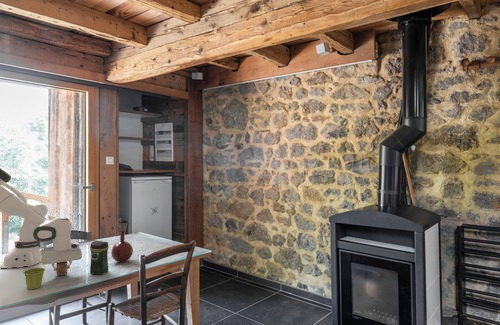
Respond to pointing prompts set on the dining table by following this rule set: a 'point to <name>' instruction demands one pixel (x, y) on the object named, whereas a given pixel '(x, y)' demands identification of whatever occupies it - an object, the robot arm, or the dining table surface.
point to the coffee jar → (99, 257)
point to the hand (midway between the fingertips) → (61, 269)
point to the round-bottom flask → (122, 249)
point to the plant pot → (34, 277)
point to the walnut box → (61, 268)
